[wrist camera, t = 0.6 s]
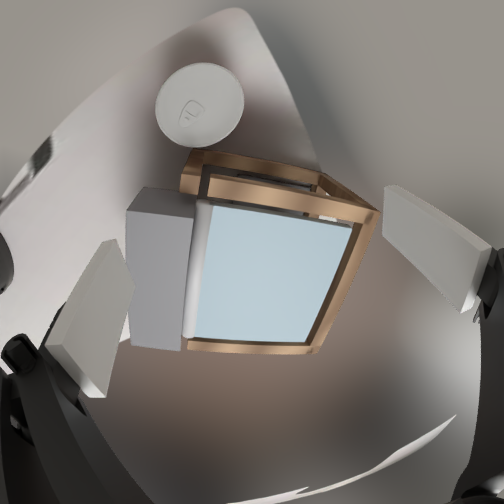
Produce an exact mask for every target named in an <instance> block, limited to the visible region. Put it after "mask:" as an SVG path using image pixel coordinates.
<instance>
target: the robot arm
mask: <svg viewBox="0 0 504 504" xmlns="http://www.w3.org/2000/svg"><path fill="white" fill-rule="evenodd" d="M382 236H383V237H385V238H386V239H387V240H388V241H389V242H390V243H391V244H392V245H393V246H394V247H396V249H398V250H399V251H400V252H401V253H402V254H403V255H404V256H405V257H406V258H407V259H408V260H409V261H410V262H411V263H412V264H413V265H414V266H415V267H416V268H418V270H419V271H420V272H421V273H422V274H423V275H425V277H426V278H427V279H428V280H429V281H430V282H431V283H432V284H433V285H434V286H435V287H436V288H437V289H438V290H439V291H440V292H441V293H442V294H443V295H444V296H445V298H446V299H447V300H448V301H449V302H450V303H451V304H452V305H453V306H454V307H455V308H456V310H457V311H458V312H459V313H462V312H464V311H466V310H468V309H470V308H472V306H473V304H474V301H475V299H476V296H477V295H478V296H479V297H480V299H481V302H480V305H479V307H478V309H477V312H476V314H475V316H474V319H473V322H474V323H475V322H476V319H477V318H478V317H480V320H479V322H478V323H480V330H481V380H480V396H479V406H478V415H477V423H476V430H475V435H474V441H473V446H472V451H471V456H470V460H469V463H468V465H467V467H466V468H465V470H464V471H463V473H462V474H461V476H460V478H459V479H458V482H457V484H456V487H455V489H454V492H453V496H452V498H451V501H450V502H448V503H446V504H504V499H502V498H498V497H496V496H497V494H498V493H499V492H500V491H501V490H503V489H504V248H502V249H499V250H498V251H497V250H495V249H494V248H493V247H491V246H490V245H489V244H487V243H486V242H485V241H483V240H482V239H481V238H479V237H478V236H476V235H475V234H474V233H472V232H471V231H470V230H468V229H467V228H465V227H464V226H462V225H461V224H460V223H458V222H457V221H455V220H454V219H452V218H451V217H449V216H447V215H446V214H444V213H443V212H441V211H440V210H438V209H437V208H435V207H433V206H432V205H430V204H428V203H427V202H425V201H424V200H422V199H420V198H418V197H417V196H415V195H413V194H412V193H410V192H408V191H406V190H405V189H403V188H401V187H399V186H397V185H391V186H385V187H384V211H383V228H382ZM13 274H14V268H13V261H12V257H11V254H10V251H9V249H8V247H7V244H6V243H5V241H4V239H3V237H2V236H1V234H0V294H2V293H3V292H4V291H5V290H6V289H7V288H8V286H9V285H10V284H11V282H12V280H13ZM135 287H136V286H135V284H134V281H133V279H132V277H131V274H130V272H129V270H128V267H127V265H126V263H125V260H124V258H123V255H122V253H121V250H120V248H119V245H118V243H117V240H116V239H113V240H109V241H105V242H102V243H101V245H100V247H99V248H98V250H97V251H96V253H95V254H94V256H93V257H92V259H91V261H90V262H89V264H88V265H87V267H86V269H85V270H84V272H83V274H82V275H81V277H80V279H79V280H78V282H77V284H76V285H75V287H74V289H73V291H72V292H71V294H70V296H69V298H68V300H67V302H65V303H64V304H63V305H62V306H61V308H60V309H59V310H58V311H57V313H56V315H55V317H54V319H53V321H52V323H51V325H50V329H48V331H47V333H46V335H45V337H44V339H43V341H42V343H41V345H40V347H39V349H38V350H37V348H36V347H35V346H34V345H33V343H32V342H31V341H30V339H29V338H28V336H27V335H26V334H23V333H22V334H18V335H16V336H14V337H12V338H11V339H10V340H9V341H8V342H7V343H6V345H5V346H4V348H3V350H2V352H1V358H2V359H3V361H4V362H5V363H6V364H7V365H8V367H9V368H10V369H11V370H12V371H13V372H14V373H12V374H9V375H7V374H6V373H5V371H4V370H3V369H2V368H1V367H0V504H154V503H153V502H152V500H151V499H150V498H149V497H148V496H147V495H146V493H145V492H144V491H143V490H142V489H141V488H140V486H139V485H138V484H137V483H136V481H135V480H134V479H133V478H132V476H131V475H130V474H129V472H128V471H127V470H126V468H125V467H124V466H123V464H122V463H121V462H120V460H119V459H118V458H117V456H116V455H115V453H114V452H113V450H112V449H111V447H110V446H109V444H108V443H107V441H106V440H105V438H104V437H103V435H102V433H101V432H100V430H99V429H98V427H97V425H96V423H95V422H94V420H93V419H92V417H91V415H90V413H89V411H88V410H87V408H86V406H85V404H84V402H83V401H82V400H81V399H80V398H79V397H78V394H79V390H80V388H81V389H82V390H83V392H84V393H85V394H86V395H87V396H88V397H106V395H107V390H108V385H109V381H110V376H111V372H112V368H113V364H114V359H115V355H116V351H117V348H118V344H119V340H120V336H121V333H122V329H123V326H124V322H125V319H126V315H127V312H128V309H129V305H130V302H131V299H132V296H133V293H134V290H135ZM10 417H11V418H12V419H13V420H15V422H17V426H18V427H17V428H15V427H13V426H12V425H11V421H10Z"/></svg>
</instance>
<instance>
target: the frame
mask: <svg viewBox="0 0 504 504" xmlns="http://www.w3.org/2000/svg"><path fill="white" fill-rule="evenodd" d="M202 164H207V165H214V166H221V167H227V168H233V169H239V170H245V171H251V172H256V173H261V174H267V175H272V176H277V177H282V178H287V179H292V180H296V181H301V182H306V183H310V184H312V186H311V189H310V188H309V187H304V186H299V185H295V184H290V183H285V182H280V181H275V180H269V179H264V178H259V177H253V176H248V175H242V174H238V176H237V178H236V177H230V176H224V175H217V174H211V173H210V179H209V185H208V190H207V196H209V197H216V198H223V199H230V200H232V204H234V205H240V206H247V207H253V208H259V209H266V210H272V211H278V212H283V213H289V214H295V215H301V216H306V217H312V218H317V219H318V218H319V215H323V216H328V217H333V218H338V219H343V220H348V221H352V222H354V225H353V228H352V232H351V234H350V237H349V240H348V242H347V245H346V248H345V250H344V253H343V255H342V258H341V260H340V263H339V265H338V268H337V270H336V273H335V275H334V278H333V280H332V282H331V285H330V287H329V290H328V292H327V294H326V297H325V299H324V301H323V303H322V306H321V308H320V310H319V312H318V315H317V317H316V319H315V321H314V323H313V326H312V328H311V330H310V332H309V334H308V336H307V338H306V340H305V342H271V341H246V340H229V339H215V338H202V337H193V338H188V344H187V345H188V346H187V349H188V350H199V351H212V352H228V353H250V354H317V352H318V350H319V348H320V347H321V345H322V343H323V341H324V339H325V337H326V335H327V333H328V331H329V329H330V327H331V325H332V323H333V321H334V320H335V317H336V315H337V313H338V311H339V309H340V307H341V305H342V303H343V301H344V299H345V297H346V295H347V292H348V290H349V288H350V286H351V284H352V282H353V279H354V277H355V274H356V273H357V270H358V268H359V266H360V263H361V261H362V259H363V256H364V254H365V251H366V249H367V246H368V244H369V242H370V239H371V236H372V234H373V231H374V229H375V226H376V224H377V221H378V218H379V216H380V213H381V212H380V211H378V210H377V209H376V208H374V207H373V206H372V205H370V204H369V203H368V202H366V201H364V200H363V199H362V198H361V197H359V196H358V195H356V194H355V193H354V192H352V191H351V190H349V189H348V188H346V187H345V186H343V185H342V184H341V183H339V182H338V181H336V180H334V179H333V178H332V177H330V176H328V175H327V174H325V173H322V172H318V171H314V170H309V169H305V168H301V167H297V166H292V165H288V164H283V163H278V162H274V161H269V160H264V159H259V158H253V157H248V156H243V155H237V154H231V153H225V152H219V151H212V150H206V149H199V148H193V149H192V151H191V153H190V155H189V158H188V160H187V162H186V164H185V167H184V169H183V171H182V174H181V181H180V188H179V193H187V194H195V195H198V190H199V184H200V178H201V171H202ZM326 192H327V193H328V194H329V195H330V196H328V195H326ZM181 336H182V334H181ZM180 349H181V346H180Z"/></svg>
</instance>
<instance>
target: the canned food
mask: <svg viewBox="0 0 504 504" xmlns="http://www.w3.org/2000/svg"><path fill="white" fill-rule="evenodd" d="M243 109H244V93H243V89H242V87H241V84H240V82H239V81H238V79H237V78H236V77H235V75H234V74H233V73H231V72H230V71H229V70H228V69H226V68H224V67H222V66H220V65H217V64H214V63H205V62H203V63H194V64H191V65H187V66H185V67H183V68H181V69H179V70H177V71H176V72H174V73H173V74H172V75H171V76H170V77H169V78H168V79H167V80H166V81H165V82H164V84H163V85H162V87H161V88H160V90H159V93H158V96H157V99H156V104H155V114H156V118H157V122H158V124H159V127H160V129H161V130H162V131H163V133H164V134H165V135H166V136H167V137H168V138H169V139H170V140H172V141H173V142H175V143H177V144H179V145H183V146H186V147H195V148H197V147H205V146H209V145H212V144H214V143H217V142H219V141H221V140H222V139H223V138H225V137H226V136H228V135H229V134H230V133H231V132H232V131H233V130H234V128H235V127H236V125H237V124H238V122H239V121H240V118H241V116H242V113H243Z"/></svg>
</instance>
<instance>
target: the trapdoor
mask: <svg viewBox="0 0 504 504" xmlns="http://www.w3.org/2000/svg"><path fill="white" fill-rule="evenodd" d="M196 198H197V195H195V194H187V193H179V191H173V190H165V189H156V188H148V187H143V189H142V190H141V191H140V193H139V194H138V195H137V197H136V198H135V199H134V201H133V202H132V203H131V205H130V206H129V207H128V209H127V210H126V265H127V267H128V270H129V272H130V274H131V277H132V279H133V281H134V284H135V286H136V287H135V290H134V293H133V296H132V299H131V302H130V305H129V309H128V318H129V329H130V339H131V345H135V346H142V347H150V348H157V349H165V350H174V351H180V346H181V334H182V335H183V336H184V337H186V338H193V337H202V338H215V339H229V340H246V341H271V342H305V340H306V338H307V336H308V334H309V332H310V330H311V328H312V326H313V323H314V321H315V319H316V317H317V315H318V312H319V310H320V308H321V306H322V303H323V301H324V299H325V297H326V294H327V292H328V290H329V287H330V285H331V282H332V280H333V278H334V275H335V273H336V270H337V268H338V265H339V263H340V260H341V258H342V255H343V253H344V250H345V248H346V245H347V242H348V240H349V237H350V234H351V232H352V228H351V227H350V226H349V225H348V224H343V223H338V222H333V221H328V220H322V219H317V218H312V217H306V216H301V215H295V214H289V213H283V212H278V211H272V210H266V209H259V208H253V207H247V206H240V205H234V204H227V203H220V202H213V201H211V200H207V199H198V200H197V201H196Z"/></svg>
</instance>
